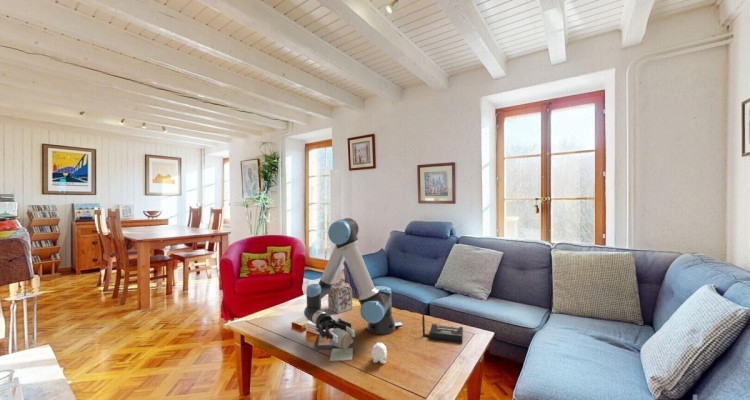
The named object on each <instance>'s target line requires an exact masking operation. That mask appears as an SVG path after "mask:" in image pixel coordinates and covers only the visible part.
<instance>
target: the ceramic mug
mask: <svg viewBox="0 0 750 400" xmlns="http://www.w3.org/2000/svg"><path fill="white" fill-rule="evenodd" d="M331 331H332V332H333V333H334V334H335V335H337V336H338V342H337V343H336V342H335V341H334V340H332V339H330V338H329V343H330V345H334V346H337V347H339V348H338V349H346V348H350V345H351V344H353V343H354V338H353V336H351V335H350V334H349V333H348V332H346V331H345V330H342V329H340V328H335V329H333V330H331Z"/></svg>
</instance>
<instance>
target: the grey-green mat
mask: <svg viewBox="0 0 750 400" xmlns="http://www.w3.org/2000/svg"><path fill="white" fill-rule="evenodd" d="M353 351H354V348H353V347H348V348H346V349H341V348H336V349H331V353H330V358H329V362H333V361H335V362H337V361H338V362H339V361H352V360H353Z"/></svg>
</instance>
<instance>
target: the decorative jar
mask: <svg viewBox="0 0 750 400" xmlns="http://www.w3.org/2000/svg"><path fill="white" fill-rule="evenodd" d="M332 285H333V288H332V290H331V291H330V293H328V294H327V296H328V297H327V301H328V302H327V304H328V310H330V311H332V312H334V313H336V314H342V313H345V312H349V311H351V310H352V309H353V288H352V287H351V285H350V284H349V283H348V282H344V281H343V280H337V281H336V282H333V284H332Z"/></svg>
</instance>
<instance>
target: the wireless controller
mask: <svg viewBox="0 0 750 400" xmlns="http://www.w3.org/2000/svg"><path fill="white" fill-rule="evenodd" d="M424 306H425V305H424V304H422V317H421V318H422V319H421V320H422V323H421V325H422V337H427V338H429V340H435V341H443V342H450V343H451V342H453V343H459V344H463V340H464V339H463V337H464V327H462V326H459V327H458V326H457V327H454V326H445V325H440V324H439V325H438V324H435V323H434V324H433V323H432V324H431V327H430V330H429V333H426V332H425V331H426V329H425V328H426V326H425V324H426V323H425V310H424V309H425V307H424Z"/></svg>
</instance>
